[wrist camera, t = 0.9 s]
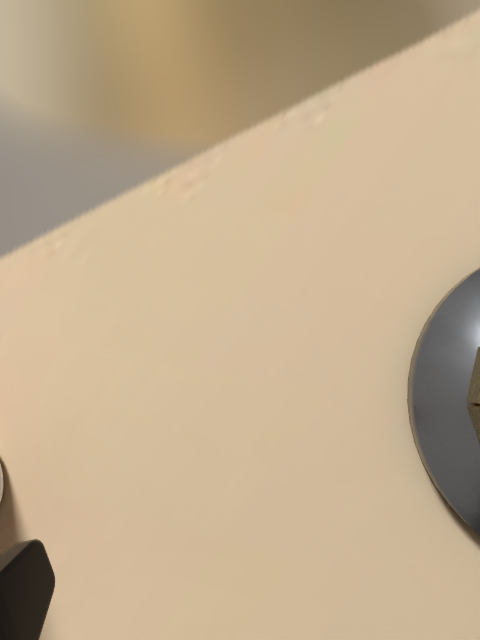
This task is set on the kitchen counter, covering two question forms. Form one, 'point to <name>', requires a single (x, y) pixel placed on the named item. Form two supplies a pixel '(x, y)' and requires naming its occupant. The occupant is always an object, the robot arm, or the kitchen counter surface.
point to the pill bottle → (1, 483)
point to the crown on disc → (450, 398)
